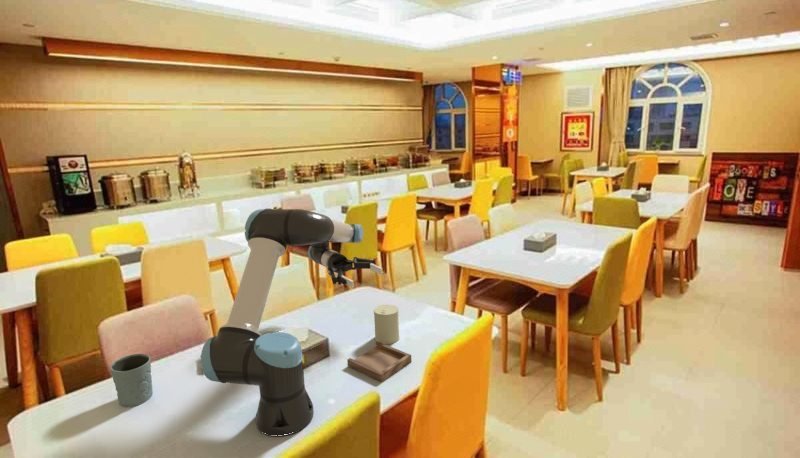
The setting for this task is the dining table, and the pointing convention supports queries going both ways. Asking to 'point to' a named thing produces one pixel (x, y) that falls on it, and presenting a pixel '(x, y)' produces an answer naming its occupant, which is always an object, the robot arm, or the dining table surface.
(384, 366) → the tray
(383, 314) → the can
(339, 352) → the dining table surface
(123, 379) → the grey embossed cup
